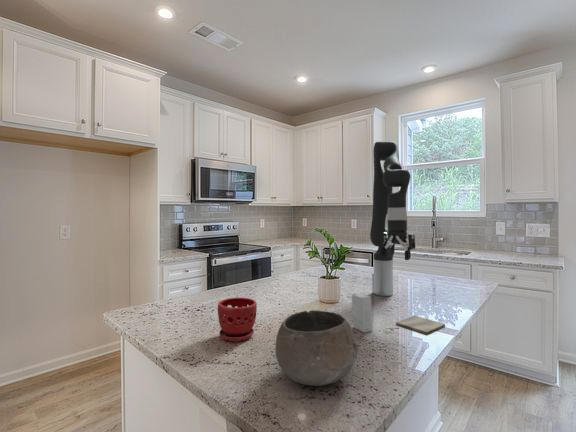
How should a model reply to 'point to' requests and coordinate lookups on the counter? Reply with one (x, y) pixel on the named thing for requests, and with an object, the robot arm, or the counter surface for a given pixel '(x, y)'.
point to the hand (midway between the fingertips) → (397, 258)
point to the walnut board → (420, 324)
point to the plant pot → (237, 318)
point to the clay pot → (315, 347)
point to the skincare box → (362, 312)
